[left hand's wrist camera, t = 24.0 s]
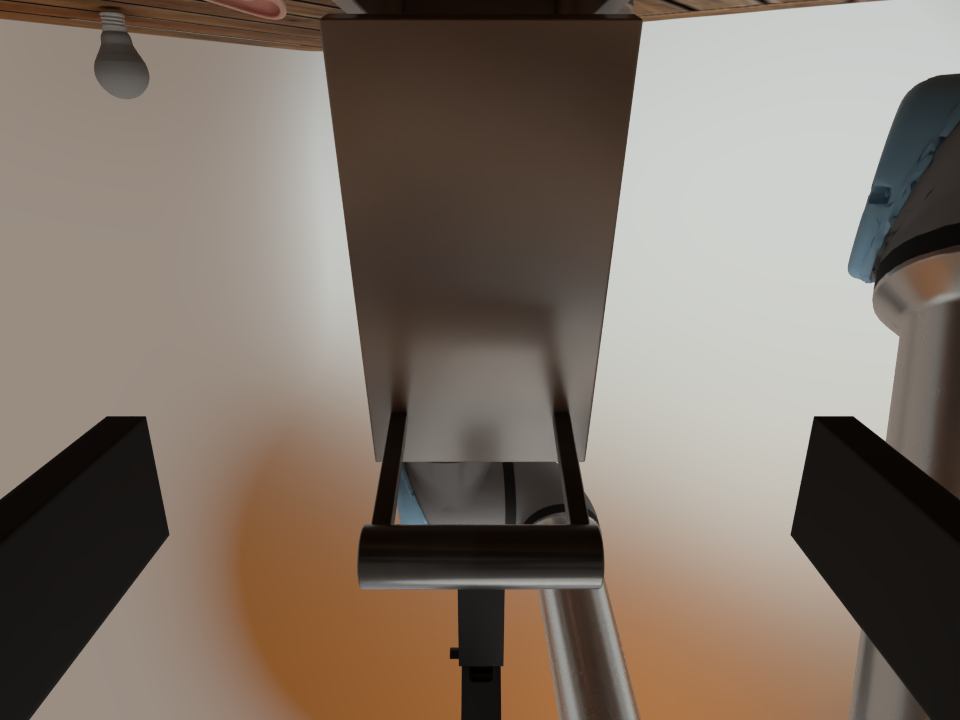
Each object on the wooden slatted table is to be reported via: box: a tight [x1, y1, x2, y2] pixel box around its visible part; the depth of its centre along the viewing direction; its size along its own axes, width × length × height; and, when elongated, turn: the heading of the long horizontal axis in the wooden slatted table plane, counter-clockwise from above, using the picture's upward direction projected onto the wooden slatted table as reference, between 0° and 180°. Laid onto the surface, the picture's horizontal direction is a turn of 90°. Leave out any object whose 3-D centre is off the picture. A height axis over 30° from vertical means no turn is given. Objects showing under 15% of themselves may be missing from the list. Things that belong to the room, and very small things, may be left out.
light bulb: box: [94, 9, 149, 99], centre depth 79 cm, size 6×6×10 cm
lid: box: [320, 14, 643, 589], centre depth 21 cm, size 18×10×9 cm
